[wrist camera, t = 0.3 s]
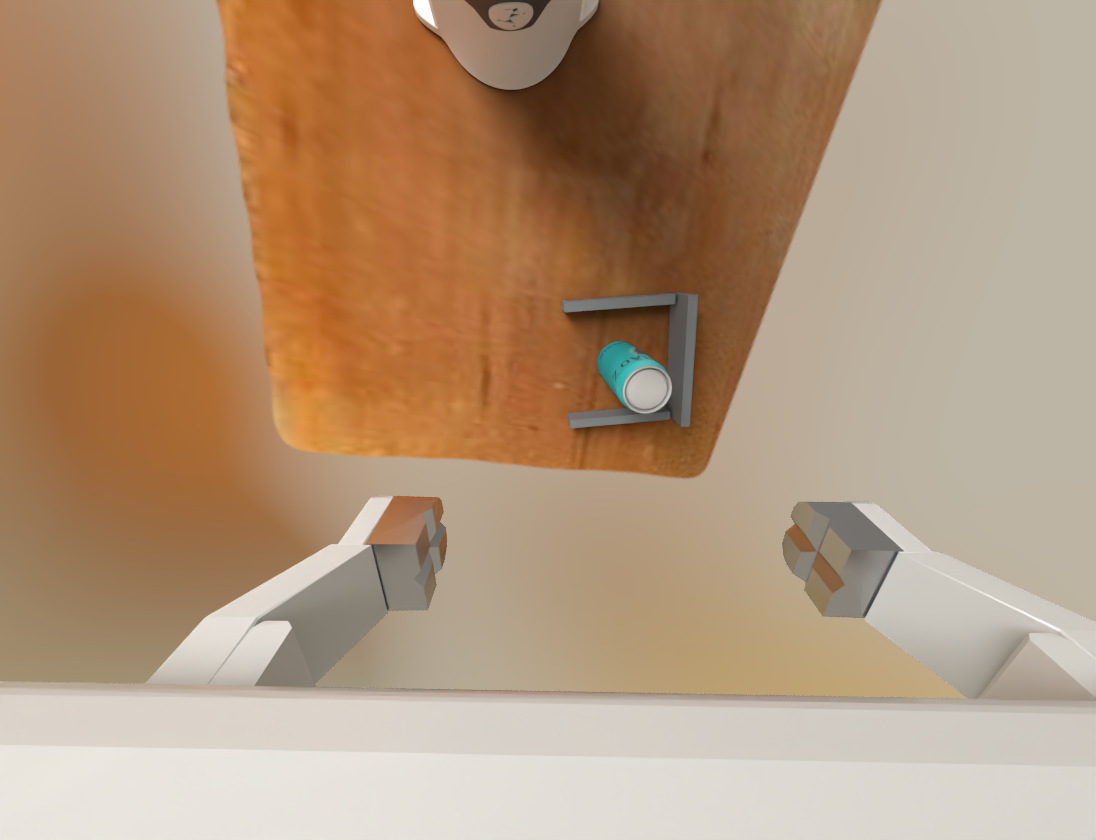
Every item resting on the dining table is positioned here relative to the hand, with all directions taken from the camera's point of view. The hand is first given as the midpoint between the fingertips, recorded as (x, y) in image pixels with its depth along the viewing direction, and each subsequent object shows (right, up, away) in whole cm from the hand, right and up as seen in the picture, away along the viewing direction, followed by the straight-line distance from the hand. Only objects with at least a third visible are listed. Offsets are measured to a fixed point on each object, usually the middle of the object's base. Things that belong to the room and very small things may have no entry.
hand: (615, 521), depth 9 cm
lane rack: (+8, +11, +46) cm, 48 cm away
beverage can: (+8, +11, +46) cm, 48 cm away
